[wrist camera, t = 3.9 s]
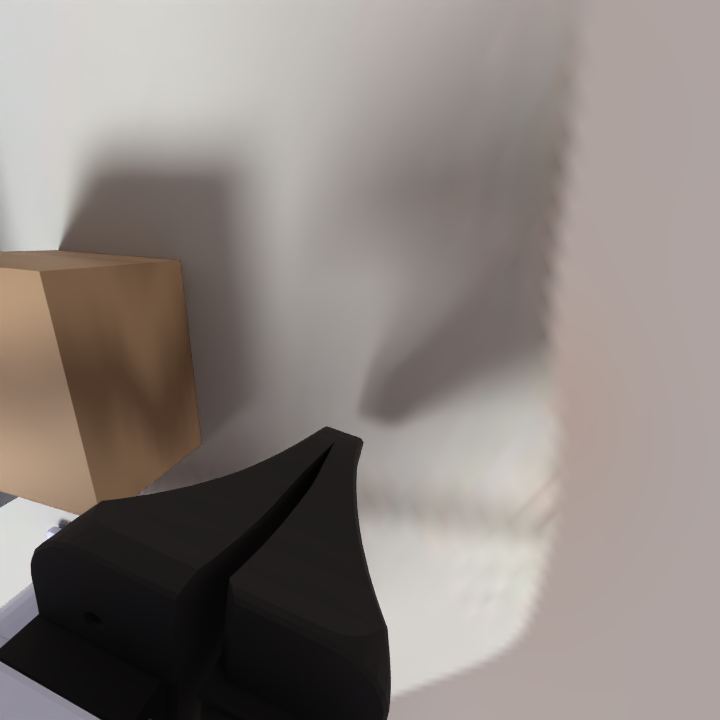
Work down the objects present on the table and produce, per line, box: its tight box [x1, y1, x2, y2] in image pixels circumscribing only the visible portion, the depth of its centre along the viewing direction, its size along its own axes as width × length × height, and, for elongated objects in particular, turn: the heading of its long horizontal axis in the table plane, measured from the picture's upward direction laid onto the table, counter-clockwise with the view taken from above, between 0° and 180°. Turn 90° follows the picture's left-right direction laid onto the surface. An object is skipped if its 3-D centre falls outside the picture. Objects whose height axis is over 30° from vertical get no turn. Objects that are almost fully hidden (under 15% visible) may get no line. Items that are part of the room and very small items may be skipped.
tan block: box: [0, 250, 202, 515], centre depth 13 cm, size 8×6×5 cm
